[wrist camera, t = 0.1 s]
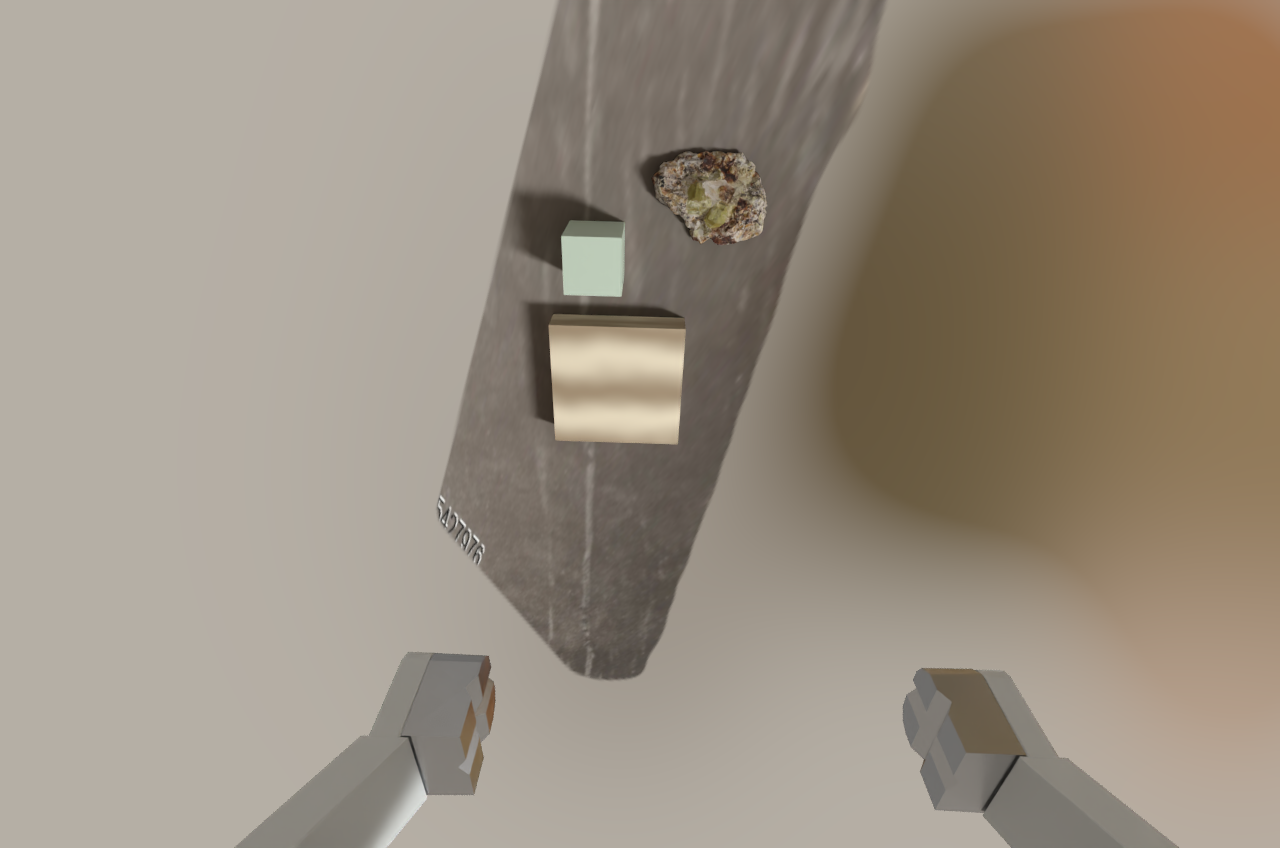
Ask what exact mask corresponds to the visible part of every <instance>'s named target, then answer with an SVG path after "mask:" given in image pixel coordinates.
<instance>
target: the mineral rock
mask: <svg viewBox="0 0 1280 848" xmlns="http://www.w3.org/2000/svg"><path fill="white" fill-rule="evenodd" d="M755 168H756V167H755V165H754V163H752V162H751V161H750V162H749V160H747V159H746V157H745V156H744V153H741V152H739V153H730V152H728V153H726V154H725V153H724V152H719V151H713V152H711V153H710V152H708V151H707V150H706V151H704V152H701V153H699V154H696V153H692V152H690V151H687V152H684V153H682V154H679V155H678V156H677V157H676V158H675V160H674V161H668V162H663V164H662V165H661V166H660V170H659V171H658V172H657V173H655V174H654V175H653V177H652V181H653V184H654V189H655V195H656V199H658V200H659V201H660V202H661V203H662V204H665V205H666V206H668V207H669V208H670V209H671V211H673V213H674V214H676V215H680V216H681V217H682V218H683V219H684V220H685V221H684V223H685V225H686V226H687V228H688V227H689V228H690V231H689V234H690V235H691V237H692V239H693V240H696V241H699V243H700V244H701V243H704V242H705V241H706V240H709V239H712V240H713V242H714V243H716V244H717V245H725V244H733V243H736V242H738V241H744V240H747V239H750V238H752V237H755V236H758V235H759V234H761V233H762V230H763V223H764V221H763V220H764V218H765V217H766V215H767V214H766V210H765V207H766V206H767V200H766V199H765V198H766V194H765V190H764V189H763V186H762V183H761V178H760V176H759V174H758V173H757V172H756V171H755Z"/></svg>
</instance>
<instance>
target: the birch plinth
mask: <svg viewBox="0 0 1280 848" xmlns="http://www.w3.org/2000/svg"><path fill="white" fill-rule="evenodd" d="M685 331H686V328H685V320H684V318H672V317H640V316H607V315H575V314H553V316H552V318H551V320H550V323H549V341H550V358H551V374H552V391H553V408H554V424H555V440H559V441H591V442H622V443H654V444H678V432H679V418H680V403H681V389H682V375H683V360H684V346H685Z"/></svg>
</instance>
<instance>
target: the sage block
mask: <svg viewBox="0 0 1280 848" xmlns="http://www.w3.org/2000/svg"><path fill="white" fill-rule="evenodd" d="M561 242H562V265H563V287H564V295H585V296H618V297H621V295H622V288H623V281H624V245H625V222H609V221H576V220H570V221H569V223H568V225H567V227H566V228H565V230H564V232H563V234H562V236H561Z"/></svg>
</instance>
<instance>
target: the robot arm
mask: <svg viewBox="0 0 1280 848" xmlns="http://www.w3.org/2000/svg"><path fill="white" fill-rule="evenodd" d="M490 670H491V663H490V659H489V656H483V655H463V654H442V653H422V652H408V653H407V654H406V656H405V657H404V658H403V659H402V661H401V663H400V665H399V668H398V670H397V672H396V675H395V677H394V679H393V682H392V684H391V686H390V688H389V691H388V693H387V695H386V698H385V700H384V702H383V704H382V707H381V709H380V712H379V714H378V716H377V718H376V721H375V723H374V725H373V728H372V730H371V732H370V734H369V736H360V737H359V738H358V739H357V740H356V741H354V742H353V743H352V744H351V745H350V746H349V747H348V748H347V749H345V750H344V751H343V752H342V753H341V754H340V755H339V756H338V757H336V758H335V759H334V760H333V761H332V762H331V763H329V764H328V765H327V766H326V767H325V768H324V769H323V770H322V771H320V772H319V773H318V774H317V775H316V776H315V777H314V778H313V779H311V780H310V781H309V782H308V783H307V784H306V785H305V786H304V787H302V788H301V789H300V790H299V791H298V792H297V793H296V794H294V795H293V796H292V797H291V798H290V799H289V800H288V801H287V802H285V803H284V804H283V805H282V806H281V807H280V808H279V809H277V810H276V811H275V812H274V813H273V814H272V815H271V816H269V817H268V818H267V819H266V820H265V821H264V822H263V823H262V824H261V825H259V826H258V827H257V828H256V829H255V830H254V831H252V832H251V833H250V834H249V835H248V836H247V837H246V838H245V839H244V840H242V841H241V842H240V843H239V844H238V845H237V846H236V847H235V848H387V847H388V845H389V844H390V843H391V841H393V839H394V838H395V837H396V836H397V834H398V833H399V832H400V831H401V830H402V828H403V827H404V826H405V825H406V824H407V822H408V821H409V820H410V819H411V817H412V816H413V815H414V814H415V812H416V811H417V810H418V809H419V808H420V806H421V805H422V804H423V803H424V801H425V800H426V799H427V795H474V794H475V789H476V786H477V782H478V778H479V774H480V770H481V766H482V762H483V758H484V757H483V752H482V747H481V742H482V741H483V740H484V739H485V738H486V737H487V736H488V735H489V734H490V730H491V726H492V721H493V715H494V708H495V685H494V681H492V680H491V679H490V678H489V674H490ZM913 681H914V683H915V686H916V689H915V690H913V691H911V692H910V693H908V694H907V696H906V698H905V701H904V704H903V723H904V728H905V732H906V735H907V738H908V741H909V743H910V746H911V747H912V748H913V750H915V751H916V752H917V753H918V754H919V755H920V756H921V757H922V758H923V759H924V761H923V764H922V767H921V770H920V773H921V775H922V777H923V780H924V783H925V785H926V788H927V791H928V793H929V796H930V798H931V801H932V803H933V806H934V809H935V810H944V811H962V812H977V813H984V814H983V817H984V818H985V819H986V820H987V821H988V822H989V823H990V824H991V826H992V827H993V828H994V829H995V830H996V831H997V832H998V833H999V834H1000V836H1001V837H1002V838H1003V839H1004V840H1005V841H1006V842H1007V843H1008V844H1009V845H1010V847H1011V848H1179V847H1178V846H1176V845H1175V844H1174V843H1173V842H1172V841H1170V840H1169V839H1168V838H1167V837H1165V836H1164V835H1163V834H1162V833H1160V832H1159V831H1158V830H1157V829H1155V828H1154V827H1153V826H1152V825H1150V824H1149V823H1148V822H1147V821H1145V820H1144V819H1143V818H1141V817H1140V816H1139V815H1138V814H1136V813H1135V812H1134V811H1133V810H1131V809H1130V808H1129V807H1128V806H1126V805H1125V804H1124V803H1123V802H1121V801H1120V800H1119V799H1118V798H1117V797H1115V796H1114V795H1113V794H1112V793H1110V792H1109V791H1108V790H1107V789H1105V788H1104V787H1103V786H1102V785H1100V784H1099V783H1098V782H1097V781H1095V780H1094V779H1093V778H1091V777H1090V776H1089V775H1088V774H1087V773H1085V772H1084V771H1083V770H1082V769H1080V768H1079V767H1078V766H1076V765H1075V764H1074V763H1073V762H1072V761H1070V760H1069V759H1068V758H1059V757H1058V755H1057V753H1056V752H1055V750H1054V748H1053V747H1052V745H1051V743H1050V742H1049V740H1048V738H1047V737H1046V735H1045V733H1044V732H1043V730H1042V728H1041V727H1040V725H1039V723H1038V722H1037V720H1036V718H1035V717H1034V715H1033V713H1032V712H1031V710H1030V708H1029V707H1028V705H1027V703H1026V702H1025V700H1024V698H1023V697H1022V695H1021V693H1020V692H1019V690H1018V689H1017V687H1016V685H1015V683H1014V682H1013V680H1012V678H1011V677H1010V676H1009V675H1008V674H1007V673H1006V672H1005V671H1001V670H973V669H952V668H947V669H946V668H921V669H920V670H918V671H917V672H916V674H915V676H914V679H913Z"/></svg>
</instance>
